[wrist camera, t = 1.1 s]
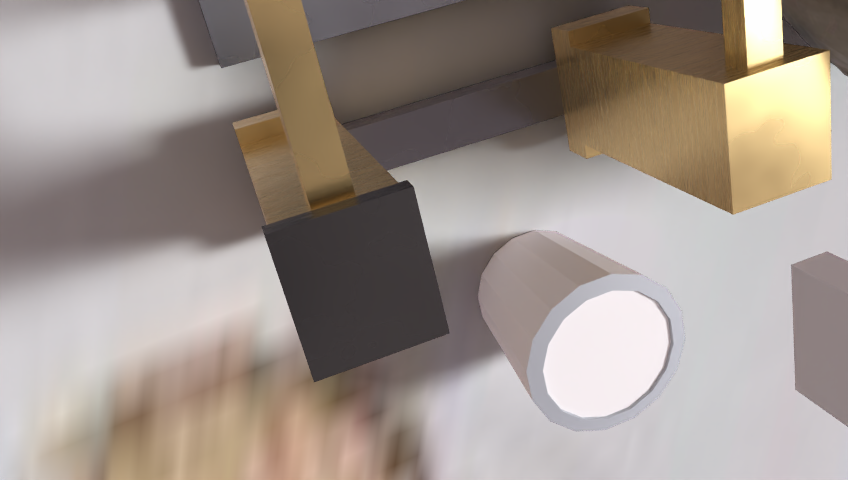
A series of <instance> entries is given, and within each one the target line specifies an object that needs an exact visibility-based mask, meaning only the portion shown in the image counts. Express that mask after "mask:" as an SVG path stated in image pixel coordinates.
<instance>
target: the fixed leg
mask: <svg viewBox="0 0 848 480" xmlns="http://www.w3.org/2000/svg"><path fill="white" fill-rule="evenodd" d="M721 6H722V21H723V34H719V33H712V32H706V31H699V30H692V29H686V28H679V27H672V26H665V25H659V24H652V23H650V15H649V8H646V7H638V6H629V5H628V6H625V7H621V8H618V9H615V10H611V11H608V12H604V13H601V14H597V15H594V16H591V17H587V18H584V19H580V20H577V21H573V22H570V23H567V24H563V25H560V26H556V27H553V28H551V32H552V39H553V45H554V52H555V58H556V64H557V71H558V77H559V84H560V90H561V97H562V103H563V109H564V116H565V122H566V129H567V135H568V142H569V148H570V151H572V152H574V153H576V154H578V155H580V156H582V157H584V158H586V159H588V158H591V157H594V156H597V155H600V154H605V155H607V156H609V157H611V158H614V159H616V160H618V161H620V162H622V163H624V164H626V165H629V166H631V167H633V168H635V169H637V170H639V171H641V172H643V173H646V174H648V175H650V176H652V177H654V178H656V179H658V180H661V181H663V182H665V183H667V184H669V185H671V186H673V187H675V188H678V189H680V190H682V191H684V192H686V193H688V194H690V195H693V196H695V197H697V198H699V199H701V200H703V201H705V202H707V203H710V204H712V205H714V206H716V207H718V208H720V209H722V210H725V211H727V212H729V213H731V214H736V213H739V212H742V211H744V210H747V209H750V208H753V207H756V206H758V205H761V204H764V203H767V202H770V201H772V200H775V199H778V198H781V197H784V196H786V195H789V194H792V193H795V192H797V191H800V190H803V189H806V188H809V187H811V186H814V185H817V184H820V183H823V182H825V181H828V180H831V99H830V50H826V49H819V48H813V47H806V46H799V45H792V44H786V43H783V34H782V6H781V0H721Z"/></svg>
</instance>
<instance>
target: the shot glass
mask: <svg viewBox="0 0 848 480" xmlns="http://www.w3.org/2000/svg"><path fill="white" fill-rule="evenodd" d="M478 300H479V304H480V308H481V313H482V317H483V319H484V320H485V322H486V324H487V325H488V327H489V329H490V330H491V332H492V334H493V335H494V337H495V339H496V340H497V342H498V344H499V345H500V347H501V349H502V350H503V352H504V354H505V355H506V357H507V359H508V360H509V362H510V364H511V365H512V367H513V369H514V370H515V372H516V374H517V375H518V377H519V379H520V380H521V382H522V384H523V385H524V387H525V389H526V390H527V392H528V394H529V395H530V397H531V399H532V400H533V402H534V403H535V404H536V405H537V406H538V408H539V409H540V410H541V411H542V412H543V413H544V415H545V416H546V417H547V418H548V419H549V420H550V421H551V422H553V423H556V424H558V425H561V426H563V427H566V428H568V429H571V430H573V431H594V430H606V429H609V428H611V427H613V426H616V425H618V424H621V423H623V422H625V421H628V420H630V419H633V418H635V417H636V416H637V415H638V414H639V413H641V412H642V411H643V410H644V409H645V408H647V407H648V406H649V405H650V404H651V403H652V402H654V401H655V400H656V399H657V398H658V397H660V395H661V394H662V392H663V391H664V389H665V387H666V386H667V384H668V383H669V381H670V380H671V378H672V377H673V375H674V374H675V372H676V371H677V369H678V365H679V361H680V358H681V354H682V350H683V346H684V342H685V332H684V323H683V315H682V310H681V308H680V307H679V305H678V304H677V302H676V301H675V299H674V298H673V296H672V295H671V293H670V292H669V290H668V289H667V288H666V287H665V286H663V285H661V284H659V283H657V282H655V281H653V280H651V279H649V278H648V277H646V276H644V275H642V274H640V273H638V272H636V271H634V270H632V269H630V268H628V267H626V266H624V265H622V264H620V263H618V262H616V261H614V260H612V259H610V258H608V257H606V256H604V255H602V254H600V253H598V252H596V251H594V250H592V249H590V248H588V247H586V246H584V245H582V244H580V243H578V242H576V241H574V240H572V239H571V238H569V237H567V236H565V235H563V234H561V233H559V232H557V231H539V230H534V231H531V232H528V233H525V234H523V235H520V236H517V237H514V238H512V239H511V240H510V241H509V242H507V243H506V244H505V245H504V246H503V247H501V248H500V249H499V250H498V251H497V252H495V253H494V254H493V256H492V258H491V259H490V261H489V263H488V264H487V266H486V268H485V270H484V271H483V273H482V275H481V281H480V286H479V292H478Z"/></svg>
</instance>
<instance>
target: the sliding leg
mask: <svg viewBox="0 0 848 480" xmlns="http://www.w3.org/2000/svg"><path fill="white" fill-rule="evenodd" d="M244 2H245V6H246V9H247V12H248V15H249V19H250V22H251V25H252V28H253V32H254V35H255V38H256V41H257V45H258V48H259V51H260V54H261V57H262V61H263V64H264V67H265V70H266V74H267V77H268V80H269V83H270V87H271V90H272V93H273V96H274V100H275V103H276V106H277V109H278V110H275V111H271V112H268V113H264V114H261V115H258V116H254V117H251V118H247V119H244V120H240V121H237V122H234V123H232V124H233V127H234V130H235V132H236V135H237V138H238V141H239V144H240V147H241V150H242V153H243V156H244V159H245V162H246V165H247V168H248V171H249V174H250V177H251V180H252V183H253V186H254V189H255V192H256V195H257V198H258V201H259V204H260V207H261V210H262V213H263V216H264V219H265V222H266V225H265V226H262V229H263V232H264V235H265V238H266V241H267V244H268V247H269V250H270V253H271V256H272V259H273V262H274V265H275V268H276V271H277V274H278V276H279V279H280V282H281V285H282V288H283V291H284V294H285V297H286V300H287V303H288V306H289V309H290V312H291V315H292V318H293V321H294V324H295V327H296V330H297V333H298V336H299V339H300V342H301V344H302V347H303V350H304V353H305V356H306V359H307V362H308V365H309V368H310V371H311V374H312V377H313V380H314V382H316V381H319V380H322V379H324V378H327V377H330V376H333V375H336V374H338V373H341V372H344V371H347V370H349V369H352V368H355V367H358V366H360V365H363V364H366V363H369V362H371V361H374V360H377V359H380V358H382V357H385V356H388V355H391V354H393V353H396V352H399V351H402V350H404V349H407V348H410V347H413V346H416V345H418V344H421V343H424V342H427V341H429V340H432V339H435V338H438V337H440V336H443V335H446V334H449V329H448V325H447V321H446V317H445V313H444V309H443V305H442V300H441V296H440V292H439V288H438V284H437V280H436V276H435V272H434V268H433V264H432V260H431V256H430V252H429V248H428V243H427V239H426V235H425V231H424V227H423V223H422V219H421V215H420V211H419V207H418V203H417V199H416V195H415V191H414V187H413V186H412V185H411V184H410V183H409V182H408V181H407V180H406V181H403V182H400V183H398V182H397V181H396V180H395V179H394V178H393V177H392V176H391V175H390V174H389V173H388V172H387V171H386V170H385V169H384V168H383V167H382V166H381V165H380V164H379V163H378V162H377V160H376V159H375V158H374V157H373V156H372V155H371V154H370V153H369V152H368V151H367V150H366V149H365V148H364V147H363V146H362V145H361V144H360V143H359V142H358V141H357V140H356V139H355V138H354V137H353V136H352V135H351V134H350V133H349V132H348V131H347V130H346V129H345V128H344V127H343V126H342V125H341V124H340V123H339V122H338V121H337V120H336V119H335V118H334V114H333V110H332V107H331V103H330V101H329V98H328V94H327V91H326V87H325V84H324V80H323V77H322V73H321V69H320V66H319V62H318V59H317V55H316V52H315V48H314V44H313V41H312V37H311V34H310V30H309V26H308V23H307V19H306V16H305V12H304V9H303V5H302V1H301V0H244Z"/></svg>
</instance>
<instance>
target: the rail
mask: <svg viewBox="0 0 848 480" xmlns="http://www.w3.org/2000/svg"><path fill="white" fill-rule="evenodd" d="M561 115H564V109H563V103H562V97H561V90H560V84H559V77H558V71H557V64H556V60H555V61H551V62H548V63H545V64H541V65H538V66H535V67H531V68H528V69H525V70H521V71H518V72H515V73H511V74H508V75H505V76H502V77H498V78H495V79H492V80H488V81H485V82H482V83H478V84H475V85H472V86H468V87H465V88H462V89H458V90H455V91H452V92H448V93H445V94H442V95H438V96H435V97H432V98H428V99H425V100H422V101H418V102H415V103H412V104H408V105H405V106H402V107H398V108H395V109H392V110H388V111H385V112H382V113H379V114H375V115H372V116H369V117H365V118H362V119H359V120H355V121H352V122H349V123H345V124H342V126H343V127H344V128H345V129H346V130H347V131H348V132H349V133H350V134H351V135H352V136H353V137H354V138H355V139H356V140H357V141H358V142H359V143H360V144H361V145H362V146H363V147H364V148H365V149H366V150H367V151H368V152H369V153H370V154H371V155H372V156H373V157H374V158H375V159H376V160H377V162H378V163H379V164H380V165H381V166H382V167H383V168H384V169H385V170H386V171H387V170H390V169H393V168H396V167H399V166H402V165H406V164H409V163H412V162H415V161H418V160H421V159H425V158H428V157H431V156H434V155H437V154H440V153H444V152H447V151H450V150H453V149H456V148H459V147H463V146H466V145H469V144H472V143H475V142H478V141H482V140H485V139H488V138H491V137H494V136H497V135H501V134H504V133H507V132H510V131H513V130H516V129H520V128H523V127H526V126H529V125H532V124H535V123H539V122H542V121H545V120H548V119H551V118H554V117H558V116H561Z"/></svg>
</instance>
